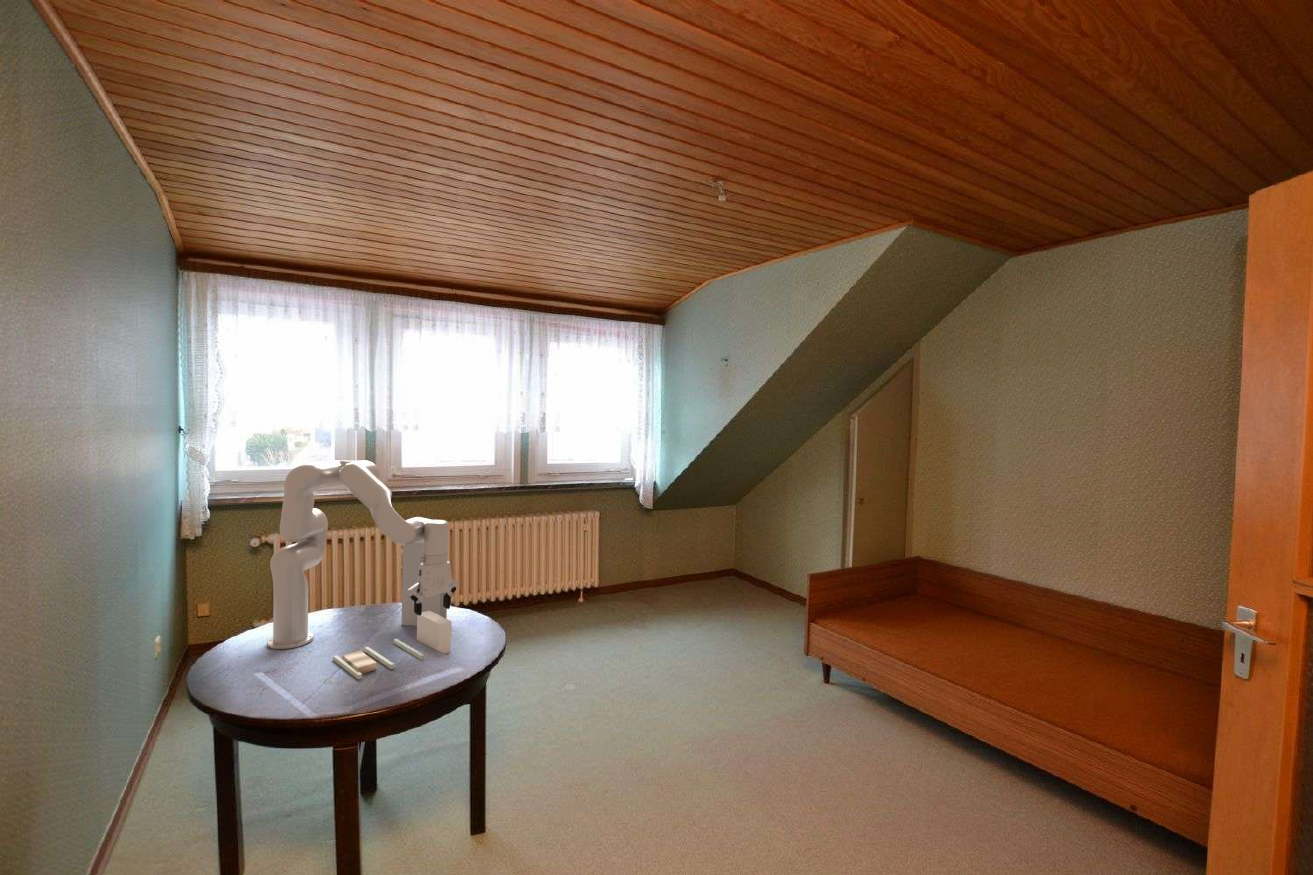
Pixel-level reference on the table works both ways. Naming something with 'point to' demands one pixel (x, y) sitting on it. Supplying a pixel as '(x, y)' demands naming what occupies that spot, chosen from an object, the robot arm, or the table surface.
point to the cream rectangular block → (434, 631)
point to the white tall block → (409, 579)
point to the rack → (377, 658)
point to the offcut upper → (360, 661)
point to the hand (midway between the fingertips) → (432, 610)
